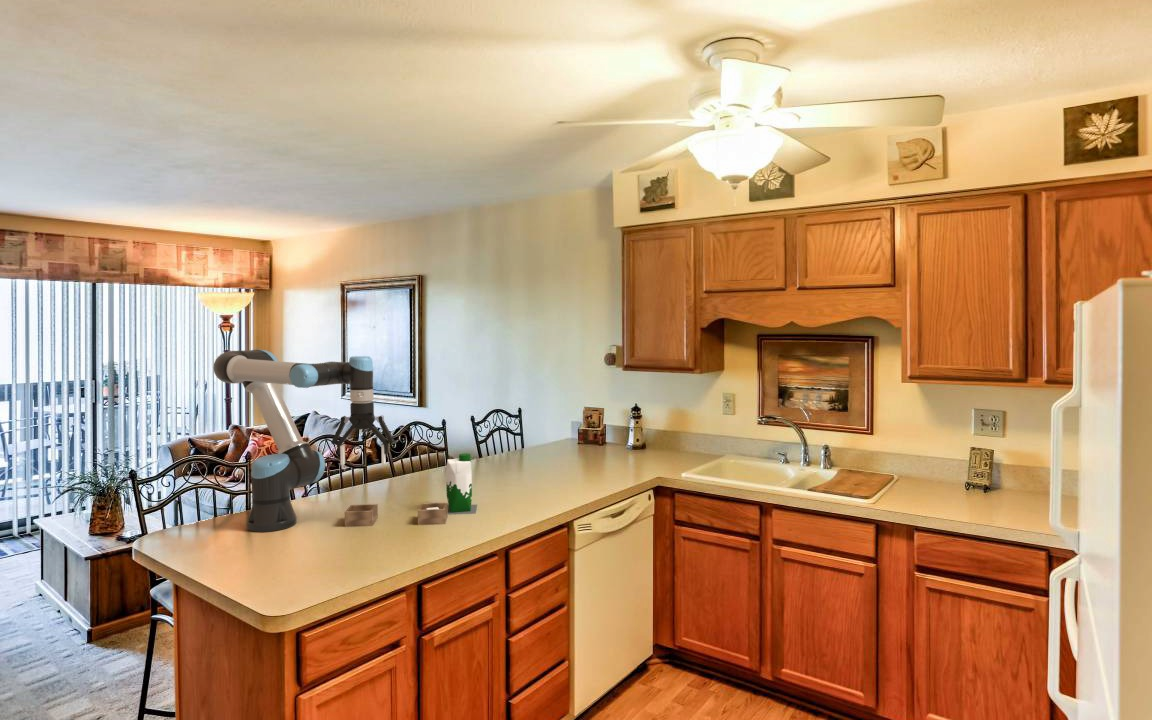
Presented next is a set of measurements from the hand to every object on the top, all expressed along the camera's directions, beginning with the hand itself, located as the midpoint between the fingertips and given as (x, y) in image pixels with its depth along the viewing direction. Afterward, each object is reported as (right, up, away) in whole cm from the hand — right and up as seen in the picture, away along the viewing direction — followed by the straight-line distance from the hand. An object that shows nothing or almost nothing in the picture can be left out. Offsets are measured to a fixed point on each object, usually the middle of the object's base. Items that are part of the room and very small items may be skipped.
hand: (363, 464), depth 223 cm
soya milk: (+30, -19, +15) cm, 39 cm away
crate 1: (0, -20, 0) cm, 20 cm away
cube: (+24, -20, +1) cm, 31 cm away
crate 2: (+24, -20, +1) cm, 31 cm away
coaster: (+30, -19, +15) cm, 39 cm away
